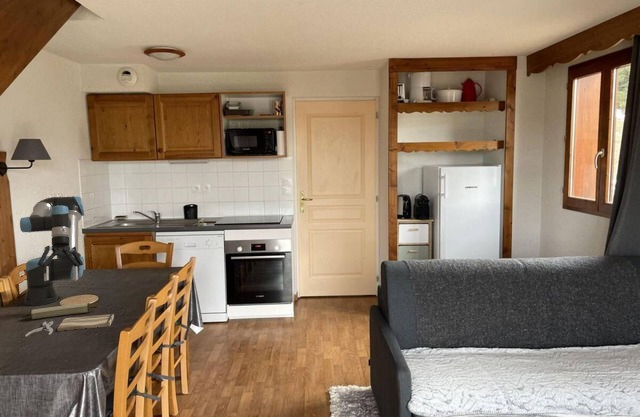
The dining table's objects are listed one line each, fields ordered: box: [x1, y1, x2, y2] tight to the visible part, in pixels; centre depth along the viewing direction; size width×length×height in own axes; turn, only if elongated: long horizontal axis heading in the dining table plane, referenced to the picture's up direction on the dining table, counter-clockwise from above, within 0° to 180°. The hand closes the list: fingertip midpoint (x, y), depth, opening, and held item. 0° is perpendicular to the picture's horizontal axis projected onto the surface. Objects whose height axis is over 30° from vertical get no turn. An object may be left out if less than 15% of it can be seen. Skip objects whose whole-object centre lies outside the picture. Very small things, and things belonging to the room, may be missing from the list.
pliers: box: [24, 320, 54, 338], centre depth 205 cm, size 10×2×15 cm
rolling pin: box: [21, 302, 99, 321], centre depth 223 cm, size 32×6×5 cm, turn 113°
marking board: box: [56, 313, 115, 332], centre depth 211 cm, size 13×21×2 cm, turn 106°
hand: (61, 280), depth 222 cm, fingers open, 13 cm apart
